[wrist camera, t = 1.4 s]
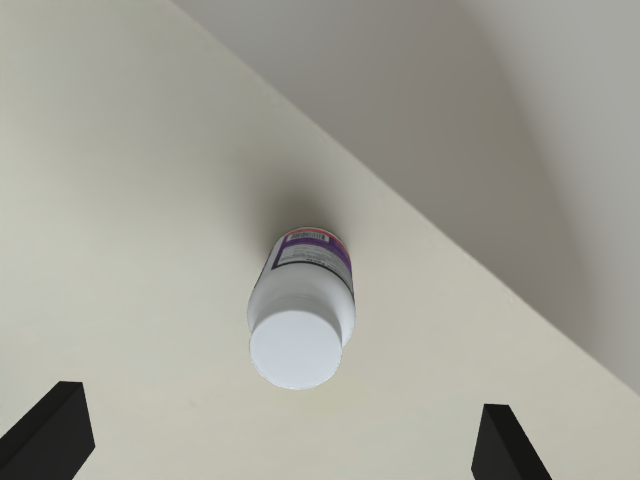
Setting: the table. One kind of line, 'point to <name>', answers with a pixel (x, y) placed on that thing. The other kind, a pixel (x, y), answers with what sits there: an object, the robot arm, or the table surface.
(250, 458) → the table surface
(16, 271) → the table surface
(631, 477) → the table surface
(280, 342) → the pill bottle
